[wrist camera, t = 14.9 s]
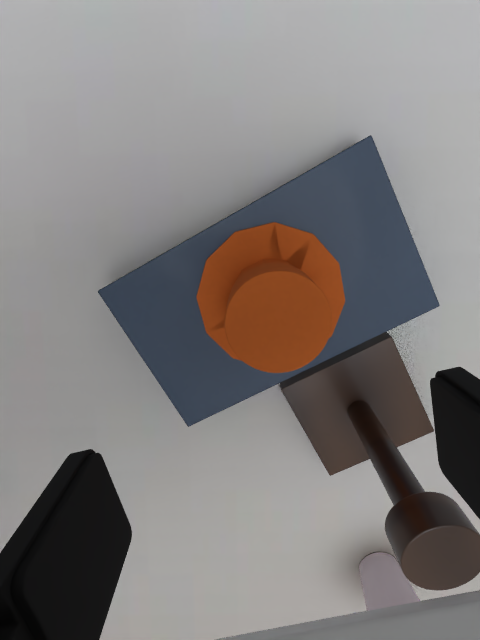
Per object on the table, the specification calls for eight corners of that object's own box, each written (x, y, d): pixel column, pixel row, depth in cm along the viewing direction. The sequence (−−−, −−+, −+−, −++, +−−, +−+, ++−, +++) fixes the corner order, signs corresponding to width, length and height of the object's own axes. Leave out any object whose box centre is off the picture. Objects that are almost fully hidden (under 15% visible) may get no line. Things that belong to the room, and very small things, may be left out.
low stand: (192, 410, 30) (187, 427, 27) (110, 284, 27) (97, 291, 25) (422, 297, 27) (440, 305, 25) (359, 142, 24) (371, 134, 22)
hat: (241, 387, 26) (240, 436, 21) (169, 268, 24) (146, 286, 18) (366, 325, 25) (403, 360, 19) (304, 192, 23) (325, 186, 17)
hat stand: (326, 463, 31) (387, 653, 18) (279, 380, 29) (308, 526, 16) (425, 420, 30) (572, 591, 17) (384, 330, 28) (515, 441, 14)
